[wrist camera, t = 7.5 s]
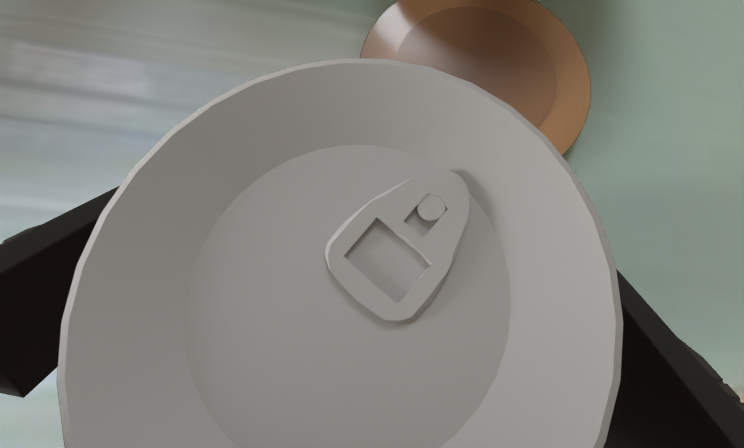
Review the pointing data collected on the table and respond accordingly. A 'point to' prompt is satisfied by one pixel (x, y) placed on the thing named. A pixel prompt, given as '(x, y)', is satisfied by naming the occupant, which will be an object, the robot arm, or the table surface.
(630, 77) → the table surface
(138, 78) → the table surface
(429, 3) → the plate
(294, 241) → the canned food
